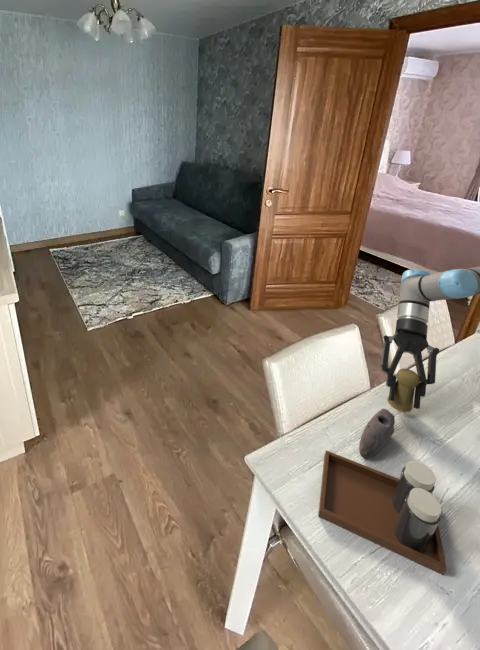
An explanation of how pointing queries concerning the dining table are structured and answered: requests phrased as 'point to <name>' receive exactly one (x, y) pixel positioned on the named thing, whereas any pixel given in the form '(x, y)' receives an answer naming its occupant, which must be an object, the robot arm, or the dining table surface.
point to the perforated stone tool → (376, 433)
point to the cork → (404, 390)
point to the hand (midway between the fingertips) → (403, 404)
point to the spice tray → (369, 508)
